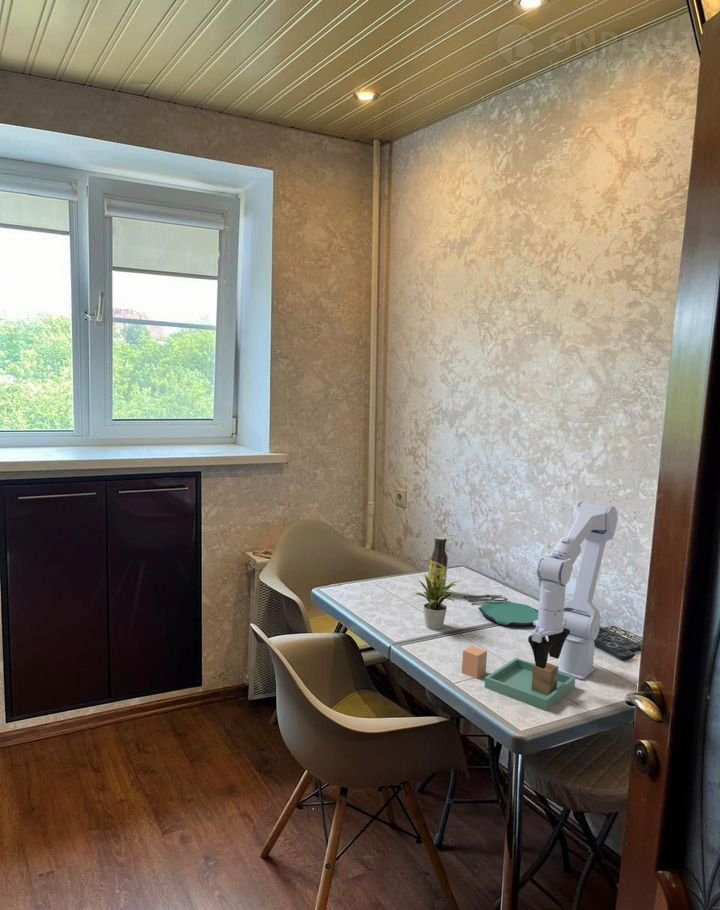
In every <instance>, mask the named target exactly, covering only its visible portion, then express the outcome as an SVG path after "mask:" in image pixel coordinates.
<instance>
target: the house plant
mask: <svg viewBox="0 0 720 910" xmlns="http://www.w3.org/2000/svg"><path fill="white" fill-rule="evenodd" d="M423 575H424V578H425V582H426V585H425V584H424V582H422V580H419V579H418V583H420V585H421V586H422V587H423V588H424V589H425V591H424V592H423V593H424V594H423V593H422V592H415V595H418V596H421V597H423V598H425V599H426V600H427V601H428V602H426V603H424V604H423V607H422V608H423V616H424V624H425V627H426V628H427V629H430V630H437V631H438V630H441V629H443V627H444V623H445V618H446V614H447V609H448V607H447V605H446V604H444V603H446V601H444V600H448V601H449V600H450V601H452V602H454V604H455V603H456V602H455V599H454V598H451V597H454V595H452V594H453V593H454V591H451V592H450V588H452V587H457V583H458V582H460V580H456V581H453V582H450V583H449V584H448V585H446V586H445V587H444V588H442V587H443V585H444V583H445V579H446V580H447V575H446V576H445V577H444V574H443V576H442V578H441V580H440V582H439V583H438V586H437V583H436V579H435V576H434V574H433V578H434V583H433V582H432V581H430V580H429V578H428V576H427V575H428V574H425V573H424V574H423ZM431 582H432V584H433V587H432V585H431ZM443 589H444V590H443ZM442 590H443V591H442ZM441 591H442V592H441ZM444 591H445V592H444ZM448 591H449V592H448ZM440 592H441V593H440Z"/></svg>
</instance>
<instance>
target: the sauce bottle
mask: <svg viewBox="0 0 720 910" xmlns="http://www.w3.org/2000/svg"><path fill="white" fill-rule="evenodd" d="M446 544H447V537H445V536H439V535H438V536H434V547H433V551H432V553H431V556H430V559H429V561H428V562H429V563H428V574H427V575H428V576H427V577H428V578H429V580H430V581H432V582H433V583H434V578H433V574H434V576H435V579H436V583H437V586H438V583H439V582H440V580H441V578H442V576H443V574H444V577H445V576H447V575H448V573H447V572H448V560H449V559H448V555H447V553H446ZM446 581H447V578H446V579H445V583H444V585H443V587H442V588H444V587H446V586H447V585H446V583H447V582H446ZM432 582H431V585H432V587H433V584H432ZM443 590H444V589H443ZM443 590H442V591H443ZM442 591H441V592H442ZM441 592H440V593H441ZM444 592H445V591H444Z"/></svg>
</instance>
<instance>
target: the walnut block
mask: <svg viewBox="0 0 720 910" xmlns="http://www.w3.org/2000/svg"><path fill="white" fill-rule="evenodd" d="M557 678H558V666H557V664H556V665H555V664H552V663H550V662H547V664H546V667H545V668H544V669H542V668H539V667H536V665H534V666H533V675H532V688H531V690H533V691H536V692H538V693H541V694H544V695H546V696H548V695H549V694H551V693H552V692H553V691H555V690H556V689H557Z"/></svg>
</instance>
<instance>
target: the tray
mask: <svg viewBox="0 0 720 910" xmlns="http://www.w3.org/2000/svg"><path fill="white" fill-rule="evenodd" d="M534 665H536V664H535V663H533V662H531V661H528V660H525V659H521V658H518V657H515V658H514V659H512V660H510V661H509V662H507V663H505V664H504V665H502V666H501V667H499V668H498V669H496V670H494V671H493V672H491V673H490V674H488V675H487V676H485V677H484V688H485V689H488V690H490V691H493V692H496V693H499V694H501V695H503V696H507V697H509V698H511V699H514V700H517V701H519V702H522V703H524V704H527V705H530V706H533V707H535V708H538V709H540V710H543V711H548V710H549V709H550V708H551V707H552V706H554V705H555V704H556V703H557V702H559V701H560V700H562V699H563V697H565V696H566V695H568V693H569V692H571V691H572V690H573V689H575V686H576V685H575V684H576V677H573V676H570V675H567V674H564V673H561V672H558V678H557V689H556V690H555V691H553V692H552V693H551V694H549V695H548V696H546V695H544V694H541V693H538V692H536V691H533V690H531V688H532V675H533V666H534Z"/></svg>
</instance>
